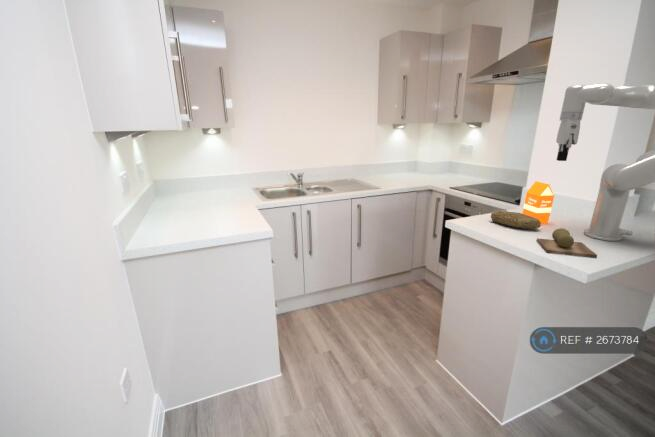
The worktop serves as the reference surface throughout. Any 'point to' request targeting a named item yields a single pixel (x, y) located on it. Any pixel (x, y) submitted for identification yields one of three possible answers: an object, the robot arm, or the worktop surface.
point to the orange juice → (539, 202)
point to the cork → (563, 237)
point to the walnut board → (575, 249)
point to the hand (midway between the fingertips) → (561, 160)
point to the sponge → (515, 219)
